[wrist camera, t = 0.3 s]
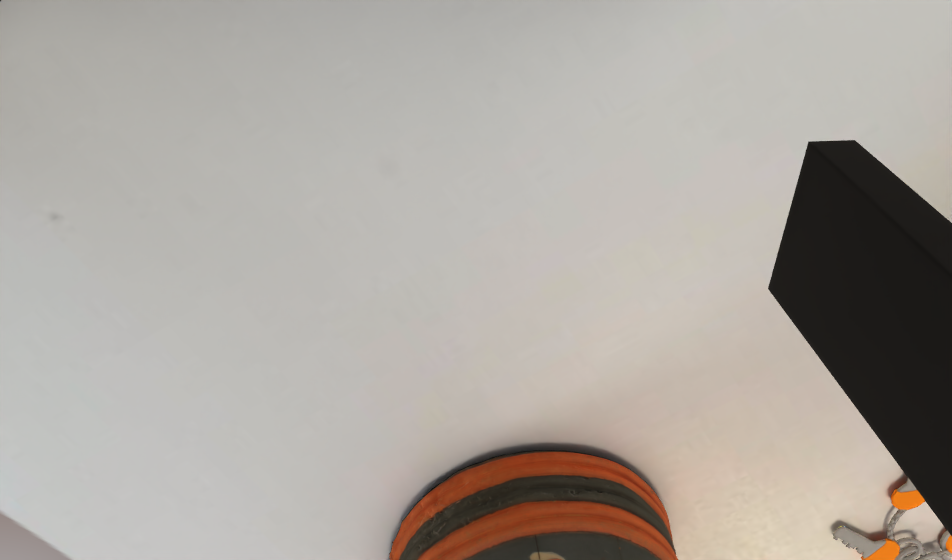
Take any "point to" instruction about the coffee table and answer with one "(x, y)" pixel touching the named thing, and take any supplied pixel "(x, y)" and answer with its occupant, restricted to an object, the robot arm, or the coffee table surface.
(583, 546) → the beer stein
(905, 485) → the key chain
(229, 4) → the coffee table surface
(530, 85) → the coffee table surface
